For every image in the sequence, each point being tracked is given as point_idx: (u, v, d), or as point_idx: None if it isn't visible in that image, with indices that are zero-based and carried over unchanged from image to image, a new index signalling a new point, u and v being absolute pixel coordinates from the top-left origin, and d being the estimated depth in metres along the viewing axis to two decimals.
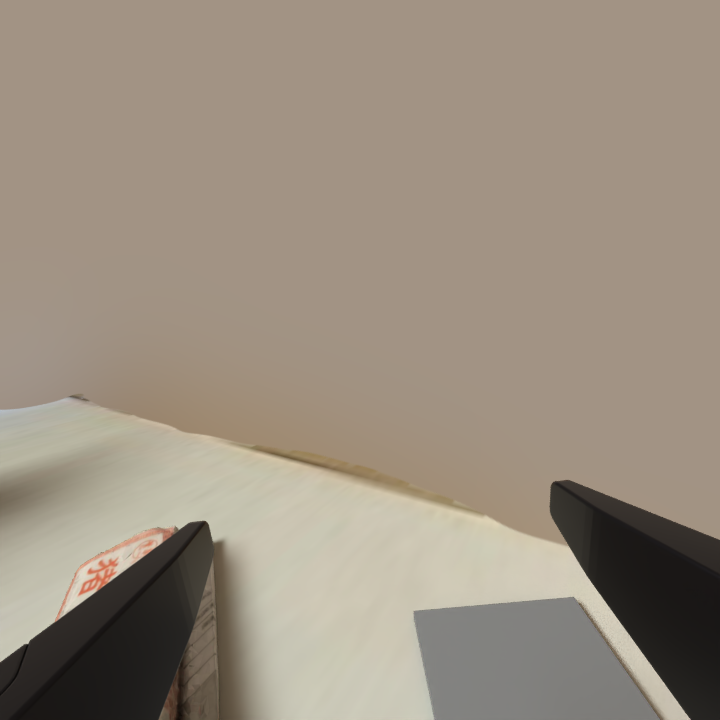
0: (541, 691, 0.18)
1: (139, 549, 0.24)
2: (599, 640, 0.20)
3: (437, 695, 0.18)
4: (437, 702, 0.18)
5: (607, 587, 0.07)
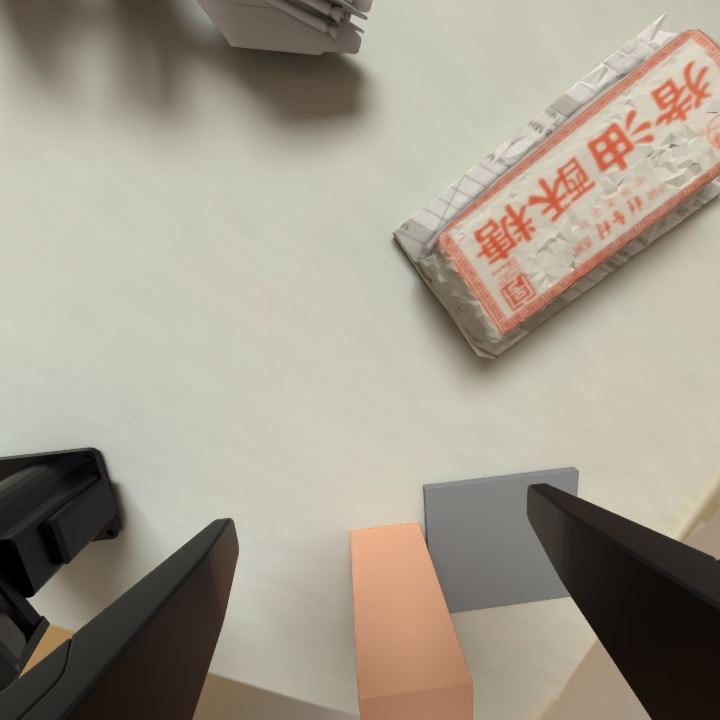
0: (510, 549, 0.25)
1: None
2: (536, 598, 0.26)
3: (515, 482, 0.23)
4: (511, 482, 0.23)
5: (578, 591, 0.07)
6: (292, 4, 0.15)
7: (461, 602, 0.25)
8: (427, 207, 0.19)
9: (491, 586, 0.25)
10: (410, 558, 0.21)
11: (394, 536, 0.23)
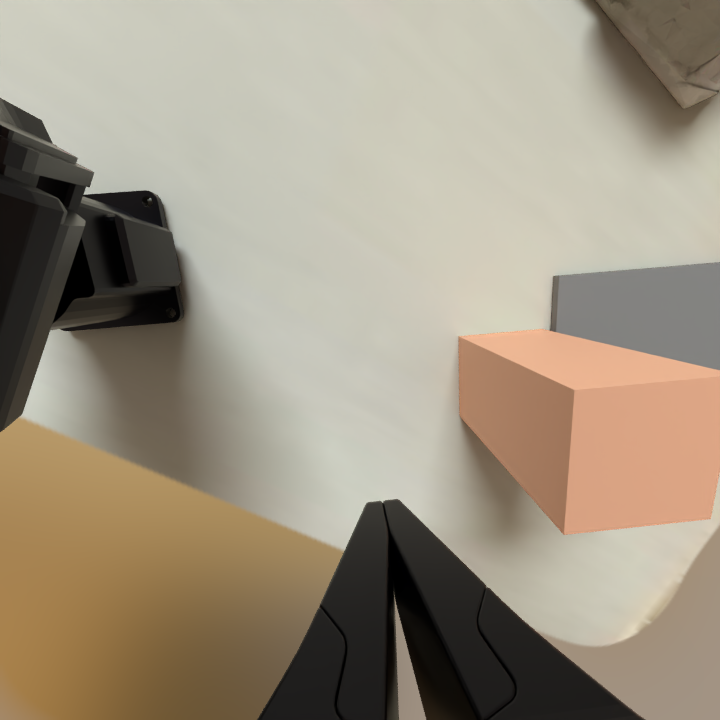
0: None
1: None
2: None
3: (669, 272, 0.19)
4: (664, 271, 0.19)
5: (400, 613, 0.07)
6: None
7: None
8: None
9: None
10: (553, 339, 0.17)
11: (519, 334, 0.19)
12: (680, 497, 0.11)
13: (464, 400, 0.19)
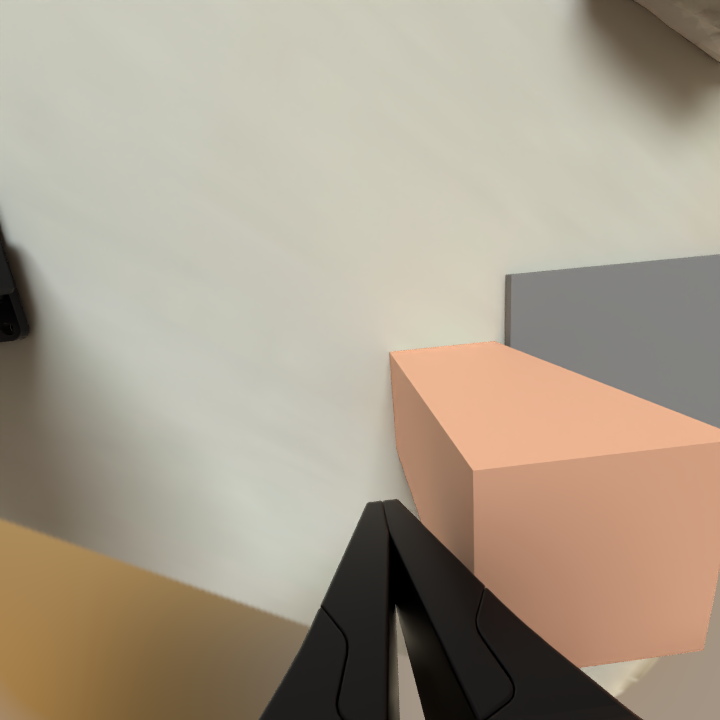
0: (633, 387, 0.16)
1: None
2: None
3: (651, 269, 0.15)
4: (645, 267, 0.15)
5: (400, 613, 0.07)
6: None
7: None
8: None
9: None
10: (498, 358, 0.13)
11: (462, 350, 0.15)
12: (655, 622, 0.07)
13: (397, 432, 0.16)
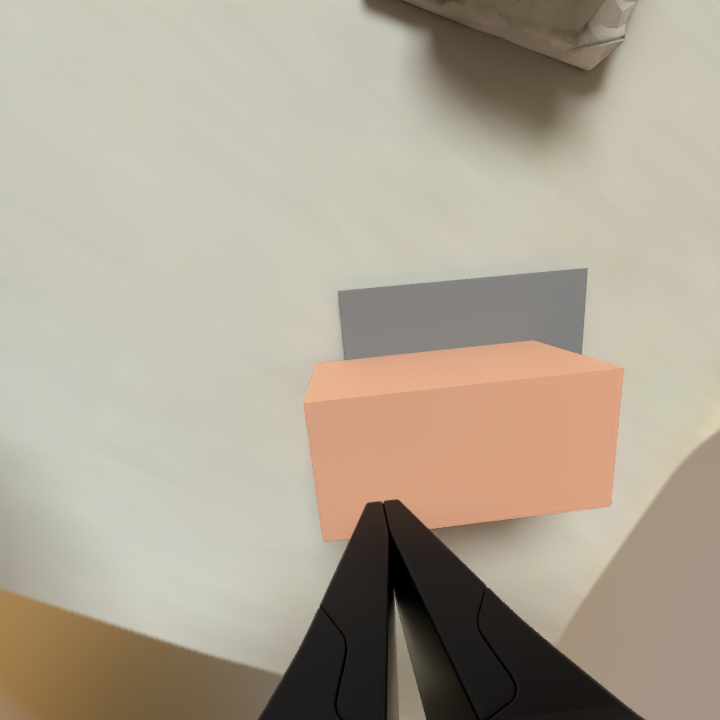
0: None
1: None
2: None
3: (484, 285, 0.15)
4: (478, 284, 0.15)
5: (400, 613, 0.07)
6: None
7: None
8: None
9: None
10: (387, 362, 0.14)
11: (339, 372, 0.13)
12: None
13: (345, 504, 0.11)
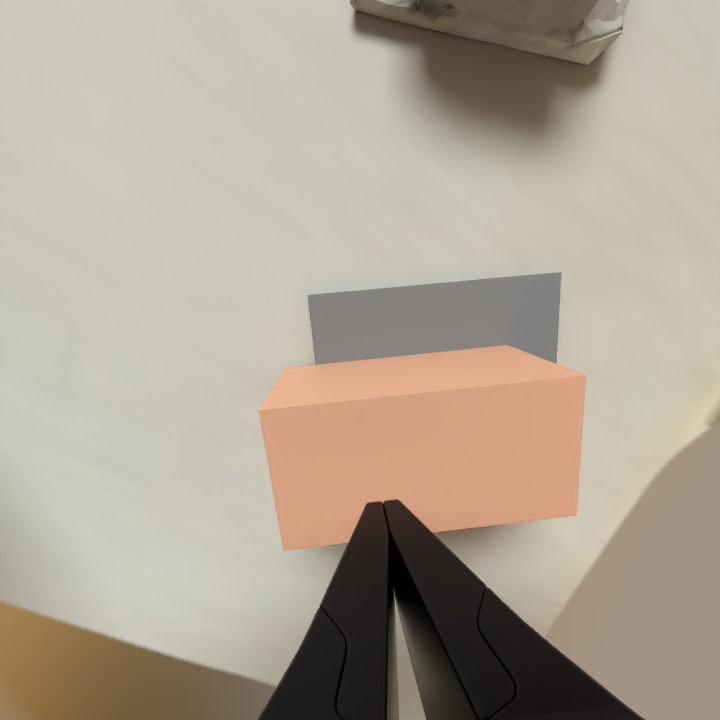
0: None
1: None
2: None
3: (456, 290, 0.14)
4: (449, 288, 0.14)
5: (401, 613, 0.07)
6: None
7: None
8: None
9: None
10: (356, 368, 0.14)
11: (305, 377, 0.13)
12: None
13: (305, 513, 0.11)
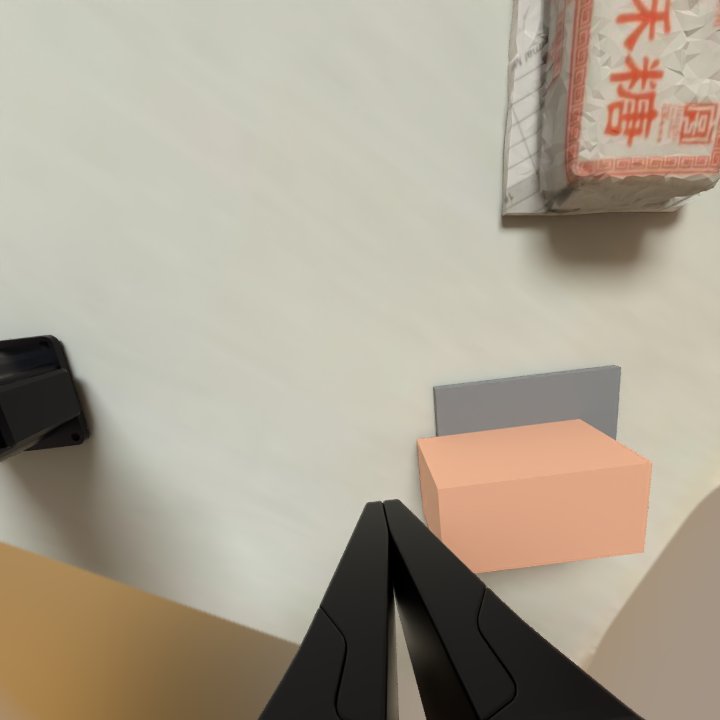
0: None
1: None
2: None
3: (543, 382, 0.20)
4: (538, 381, 0.20)
5: (400, 612, 0.07)
6: None
7: None
8: (510, 164, 0.17)
9: None
10: (474, 442, 0.19)
11: (442, 453, 0.18)
12: None
13: (461, 553, 0.16)
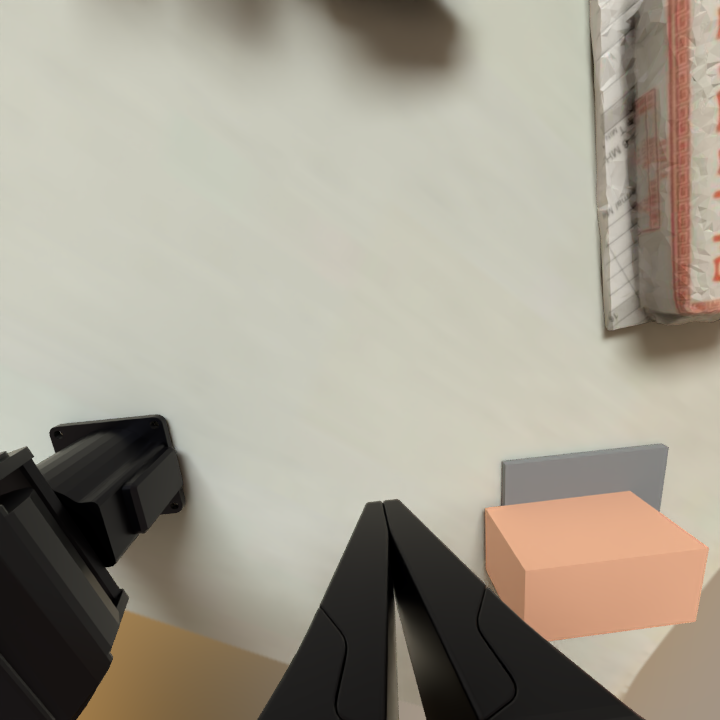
0: None
1: None
2: None
3: (600, 459, 0.22)
4: (596, 458, 0.22)
5: (400, 612, 0.07)
6: None
7: None
8: (612, 291, 0.19)
9: None
10: (540, 515, 0.21)
11: (515, 526, 0.20)
12: None
13: (539, 623, 0.18)
